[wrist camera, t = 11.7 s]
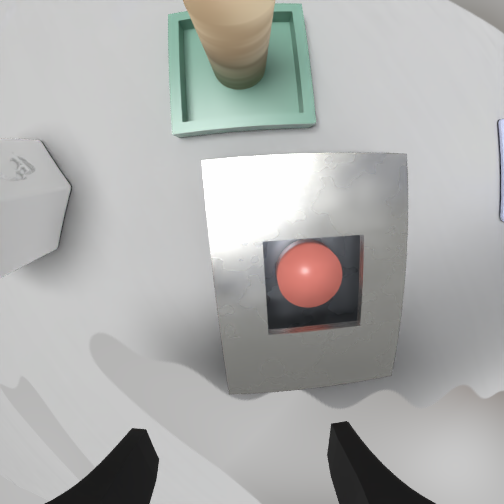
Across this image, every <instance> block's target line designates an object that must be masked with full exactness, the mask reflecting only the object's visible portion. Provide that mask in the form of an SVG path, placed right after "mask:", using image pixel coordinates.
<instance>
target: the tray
mask: <svg viewBox="0 0 504 504" xmlns="http://www.w3.org/2000/svg"><path fill="white" fill-rule="evenodd" d="M168 53H169V86H170V107H171V124H172V135H175V136H177V137H179V138H182V137H189V136H198V135H206V134H216V133H226V132H237V131H250V130H266V129H287V128H310V127H311V126H313V125H314V124H316V118H315V107H314V97H313V87H312V78H311V69H310V61H309V53H308V45H307V38H306V31H305V24H304V17H303V11H302V4H286V3H281V4H275V6H274V12H273V19H272V26H271V33H270V40H269V47H268V54H267V61H266V68H265V73H264V75H263V77H262V79H261V80H260V81H259V82H258V83H257V84H256V85H254V86H252V87H250V88H247V89H243V90H235V89H231V88H228V87H226V86H224V85H223V84H221V83H220V82H219V81H218V79H217V78H216V76H215V74H214V71H213V69H212V67H211V64H210V62H209V60H208V57H207V55H206V53H205V50H204V48H203V46H202V43H201V41H200V39H199V36H198V34H197V32H196V29H195V27H194V25H193V23H192V20H191V18H190V16H189V13H188V11H185V12H179V13H174V14H168Z"/></svg>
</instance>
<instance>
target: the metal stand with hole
mask: <svg viewBox="0 0 504 504" xmlns="http://www.w3.org/2000/svg"><path fill="white" fill-rule="evenodd" d="M202 170H203V181H204V193H205V203H206V214H207V224H208V234H209V243H210V252H211V261H212V270H213V279H214V287H215V295H216V303H217V311H218V319H219V327H220V334H221V342H222V349H223V356H224V363H225V370H226V376H227V383H228V390H229V394H250V393H266V392H279V391H291V390H301V389H310V388H318V387H326V386H333V385H340V384H347V383H354V382H360V381H366V380H371V379H377V378H382V377H387V376H392V370H393V365H394V359H395V354H396V348H397V341H398V334H399V327H400V320H401V312H402V303H403V294H404V283H405V271H406V256H407V235H408V171H407V154H401V153H304V154H281V155H264V156H249V157H236V158H225V159H214V160H204V161H202ZM303 239H312V240H317V241H319V242H321V243H323V244H325V245H326V246H327V247H328V248H329V249H330V250H331V251H332V252H333V253H334V254H335V255H336V257H337V258H338V259H339V261H340V264H341V267H342V281H341V285H340V287H339V289H338V291H337V292H336V294H335V295H334V296H333V297H332V298H331V299H330V300H329V301H327V302H326V303H324V304H322V305H320V306H316V307H310V308H306V307H299V306H296V305H294V304H292V303H291V302H289V301H288V300H287V299H286V298H285V297H284V296H283V295H282V293H281V291H280V289H279V286H278V281H277V277H276V263H277V260H278V258H279V256H280V254H281V253H282V251H283V250H284V249H285V248H286V247H287V246H289V245H290V244H292V243H293V242H296V241H299V240H303Z"/></svg>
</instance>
